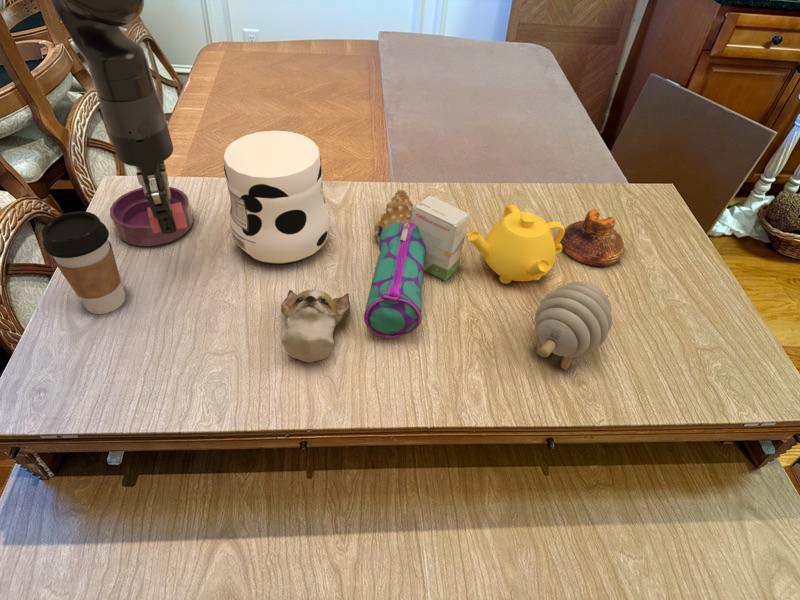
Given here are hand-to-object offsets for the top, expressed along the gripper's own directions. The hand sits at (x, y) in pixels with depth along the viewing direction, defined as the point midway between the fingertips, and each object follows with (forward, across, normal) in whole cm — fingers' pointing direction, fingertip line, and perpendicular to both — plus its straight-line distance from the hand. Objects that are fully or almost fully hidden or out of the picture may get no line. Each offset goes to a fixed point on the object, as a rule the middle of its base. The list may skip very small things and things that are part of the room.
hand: (168, 225), depth 85 cm
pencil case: (+10, +18, +32) cm, 38 cm away
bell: (+10, +18, +72) cm, 75 cm away
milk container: (+10, -2, +18) cm, 20 cm away
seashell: (+10, +1, +39) cm, 40 cm away
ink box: (+9, +13, +41) cm, 44 cm away
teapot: (+10, +19, +54) cm, 58 cm away
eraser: (0, 0, 0) cm, 0 cm away
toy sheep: (+10, +37, +52) cm, 65 cm away
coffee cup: (+9, +4, -12) cm, 16 cm away
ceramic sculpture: (+10, +22, +17) cm, 29 cm away
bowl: (+9, -14, -3) cm, 17 cm away
